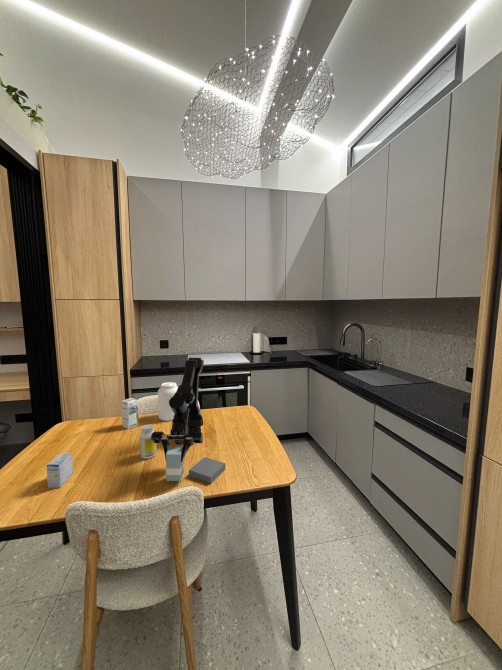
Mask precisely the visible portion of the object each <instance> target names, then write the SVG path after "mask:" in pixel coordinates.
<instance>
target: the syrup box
mask: <svg viewBox="0 0 502 670" xmlns="http://www.w3.org/2000/svg"><path fill="white" fill-rule="evenodd" d="M138 410H139V409H138V399H136V398H134V397H129V398H126V399H124V400H121V421H122V422H121V423H122V427H123V428H124V429H128V430H130V429H132V428H135V427H137V426H139V411H138Z"/></svg>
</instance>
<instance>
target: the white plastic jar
mask: <svg viewBox="0 0 502 670" xmlns="http://www.w3.org/2000/svg"><path fill="white" fill-rule="evenodd" d="M178 387H179V386H178V385H177V383H176V382H174V381H168V382H163V383H161V385H160V388H159V389H158V390H157V411H158V413H157V415H158V417H157V418H158V419H159V420H160V421H166V422H169V421H172V420H173V417H174V413H173V411H172V409H171V407H170V405H169V400H170V399H171V397H173V396H174V394H175V393H176V391H177V388H178Z"/></svg>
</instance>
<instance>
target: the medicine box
mask: <svg viewBox="0 0 502 670" xmlns="http://www.w3.org/2000/svg"><path fill="white" fill-rule="evenodd" d="M73 467H74V466H73V453H72V452H64V453H63V452H62V453H59V454H58V455H56V456H55V457H54V458H53V459H52V460H50V462H49V463H47V464H46V478H47V479H46V481H47V488H49V489H50V488H51V489H55V488H62V486H63V485H64V484H65V483H66V481H68V480H69V479H70V477H72V476H73V474H74V469H73Z"/></svg>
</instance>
